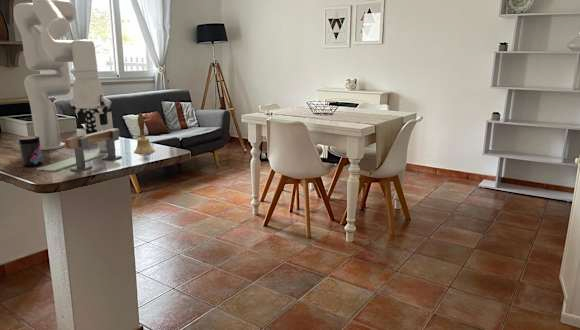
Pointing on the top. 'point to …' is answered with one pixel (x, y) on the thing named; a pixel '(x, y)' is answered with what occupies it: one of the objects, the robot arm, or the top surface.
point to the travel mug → (101, 127)
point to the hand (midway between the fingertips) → (93, 124)
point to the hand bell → (143, 139)
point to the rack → (84, 145)
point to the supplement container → (30, 151)
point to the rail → (90, 138)
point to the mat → (69, 162)
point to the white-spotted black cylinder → (90, 121)
